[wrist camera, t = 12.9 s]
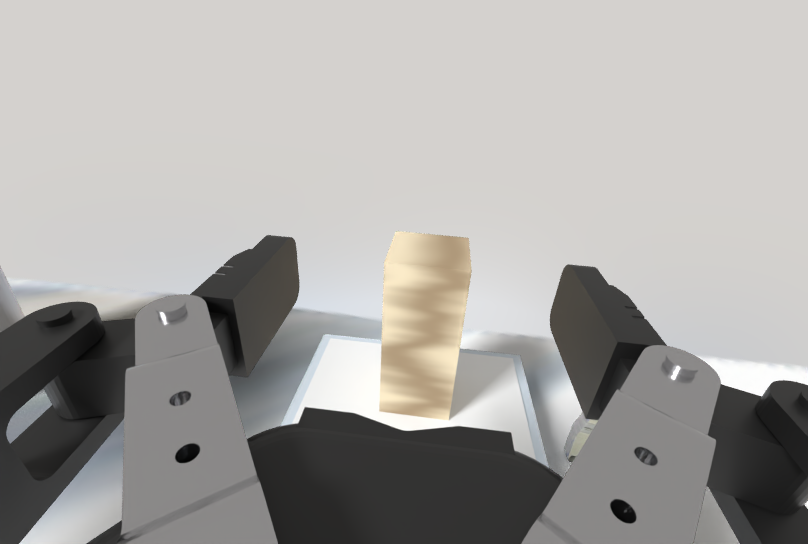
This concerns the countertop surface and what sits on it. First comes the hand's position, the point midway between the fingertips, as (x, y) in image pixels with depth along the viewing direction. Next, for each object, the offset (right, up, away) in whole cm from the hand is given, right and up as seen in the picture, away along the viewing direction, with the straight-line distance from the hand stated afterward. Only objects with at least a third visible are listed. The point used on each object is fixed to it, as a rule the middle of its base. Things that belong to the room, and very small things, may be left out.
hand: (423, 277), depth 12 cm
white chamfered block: (0, -13, +20) cm, 24 cm away
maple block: (0, -9, +18) cm, 20 cm away
